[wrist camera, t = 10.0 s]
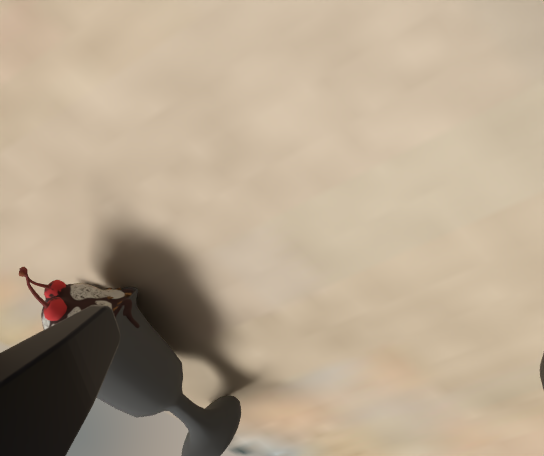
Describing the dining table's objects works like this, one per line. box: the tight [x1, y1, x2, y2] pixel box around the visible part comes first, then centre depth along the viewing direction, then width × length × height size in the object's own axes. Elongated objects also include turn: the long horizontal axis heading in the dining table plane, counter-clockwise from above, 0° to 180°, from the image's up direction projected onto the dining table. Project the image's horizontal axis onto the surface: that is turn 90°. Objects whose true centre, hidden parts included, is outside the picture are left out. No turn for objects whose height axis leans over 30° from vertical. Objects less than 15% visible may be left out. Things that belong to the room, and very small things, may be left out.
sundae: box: [19, 267, 241, 456], centre depth 24 cm, size 7×7×15 cm
